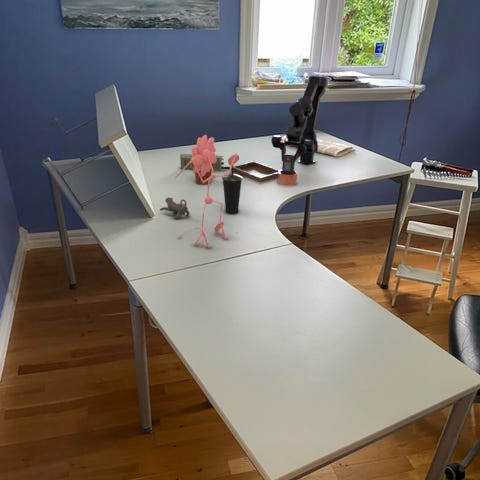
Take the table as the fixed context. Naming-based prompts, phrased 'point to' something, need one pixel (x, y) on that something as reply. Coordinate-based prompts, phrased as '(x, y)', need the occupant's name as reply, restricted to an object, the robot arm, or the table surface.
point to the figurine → (202, 161)
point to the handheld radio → (187, 158)
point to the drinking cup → (232, 192)
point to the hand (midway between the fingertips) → (287, 161)
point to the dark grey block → (288, 164)
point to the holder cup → (287, 178)
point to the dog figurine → (176, 207)
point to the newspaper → (331, 147)
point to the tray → (256, 171)
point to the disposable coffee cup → (198, 180)
